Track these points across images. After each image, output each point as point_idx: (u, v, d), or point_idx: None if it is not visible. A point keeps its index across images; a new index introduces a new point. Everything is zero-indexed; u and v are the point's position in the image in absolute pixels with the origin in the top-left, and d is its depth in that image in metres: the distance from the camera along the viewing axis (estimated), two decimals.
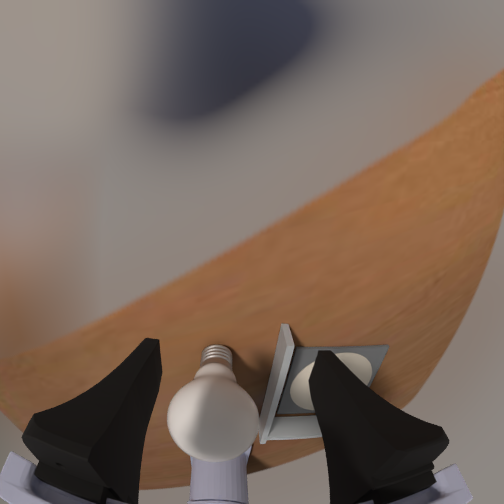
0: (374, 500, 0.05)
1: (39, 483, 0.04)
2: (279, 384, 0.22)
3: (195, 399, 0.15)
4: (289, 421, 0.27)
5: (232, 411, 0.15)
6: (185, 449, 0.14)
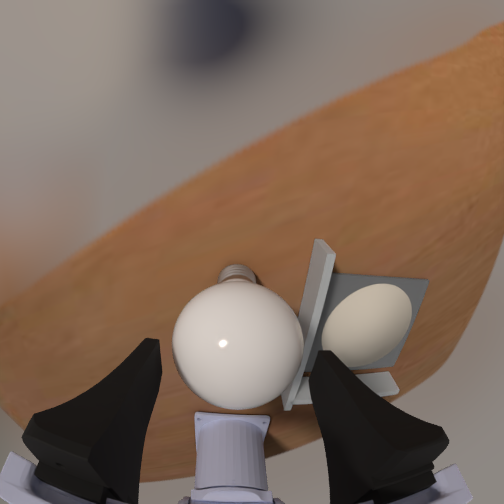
0: (375, 500, 0.05)
1: (39, 483, 0.04)
2: (315, 314, 0.19)
3: (217, 297, 0.12)
4: None
5: (272, 312, 0.11)
6: (198, 383, 0.11)
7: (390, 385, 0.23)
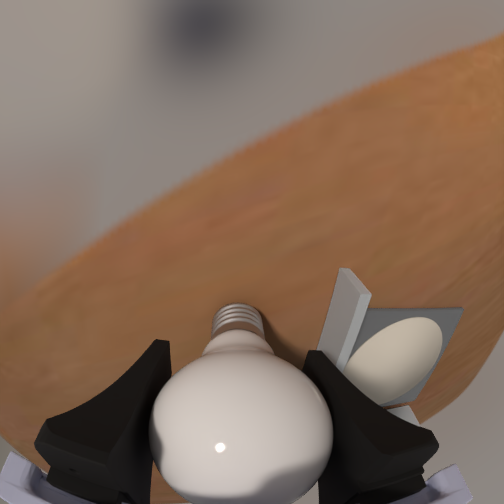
0: (361, 503, 0.05)
1: (39, 483, 0.04)
2: (338, 366, 0.14)
3: (208, 393, 0.07)
4: None
5: (295, 416, 0.06)
6: (187, 498, 0.06)
7: (411, 422, 0.18)
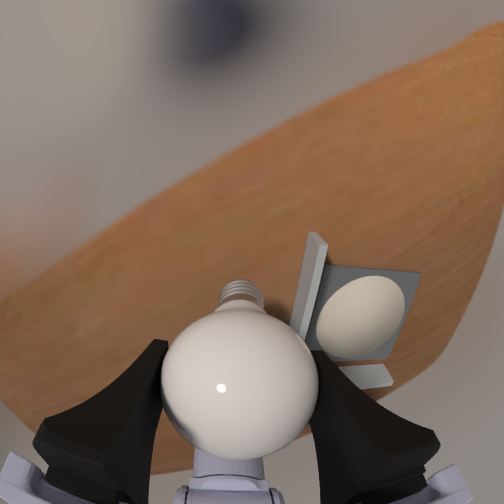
0: (363, 503, 0.05)
1: (39, 483, 0.04)
2: (309, 303, 0.20)
3: (208, 336, 0.09)
4: None
5: (279, 355, 0.08)
6: (189, 436, 0.08)
7: (384, 377, 0.24)
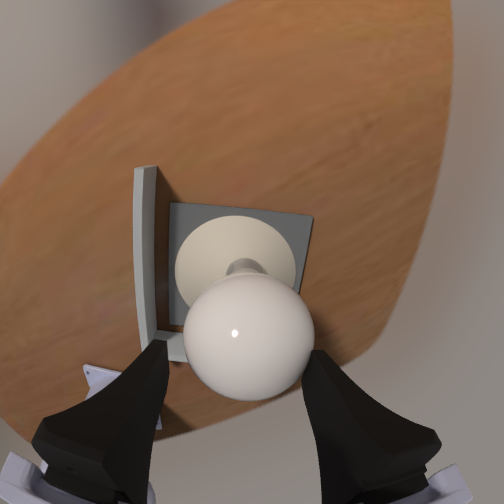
0: (364, 502, 0.05)
1: (39, 483, 0.04)
2: (136, 239, 0.17)
3: (223, 289, 0.12)
4: None
5: (279, 299, 0.11)
6: (211, 376, 0.11)
7: None
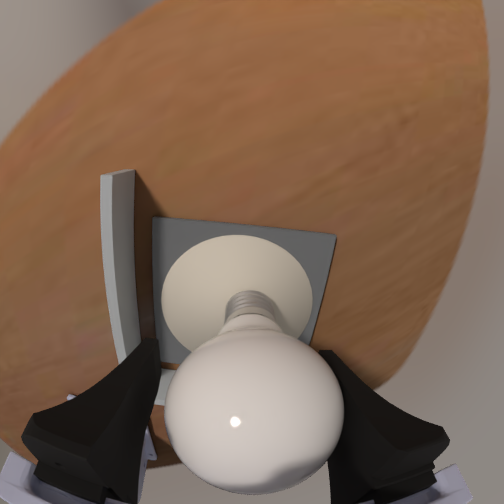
0: (375, 499, 0.05)
1: (39, 483, 0.04)
2: (107, 268, 0.12)
3: (217, 367, 0.07)
4: None
5: (302, 385, 0.07)
6: (202, 476, 0.06)
7: None
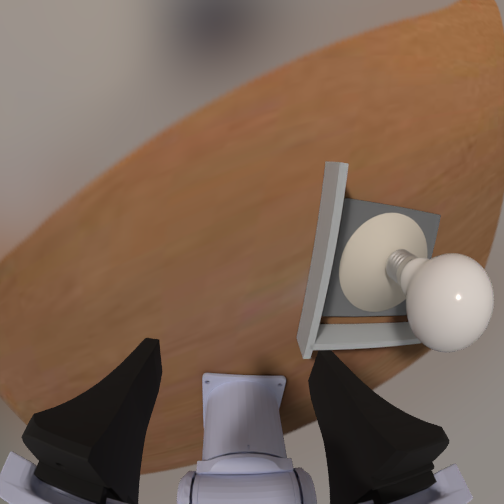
0: (374, 500, 0.05)
1: (39, 483, 0.04)
2: (333, 230, 0.18)
3: (455, 263, 0.13)
4: (337, 328, 0.23)
5: (482, 268, 0.13)
6: (458, 329, 0.12)
7: (413, 333, 0.22)
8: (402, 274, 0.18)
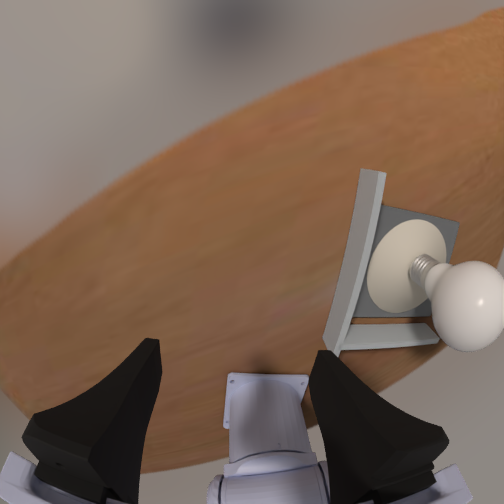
0: (374, 500, 0.05)
1: (39, 483, 0.04)
2: (369, 235, 0.18)
3: (479, 270, 0.13)
4: (362, 328, 0.23)
5: (501, 275, 0.13)
6: (480, 330, 0.12)
7: (430, 334, 0.23)
8: (427, 278, 0.18)
